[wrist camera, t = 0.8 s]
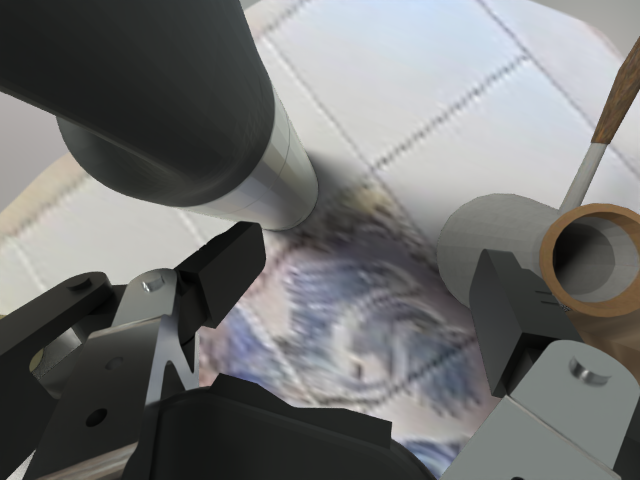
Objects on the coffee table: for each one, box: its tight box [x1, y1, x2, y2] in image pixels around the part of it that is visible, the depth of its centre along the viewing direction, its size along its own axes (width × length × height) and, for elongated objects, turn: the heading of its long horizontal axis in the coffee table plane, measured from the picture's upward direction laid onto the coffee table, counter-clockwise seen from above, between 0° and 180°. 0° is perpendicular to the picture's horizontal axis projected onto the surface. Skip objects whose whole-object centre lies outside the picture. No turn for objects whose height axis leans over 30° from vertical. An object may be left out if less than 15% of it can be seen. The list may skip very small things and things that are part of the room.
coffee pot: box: [437, 37, 640, 317], centre depth 21 cm, size 21×12×15 cm, turn 171°
